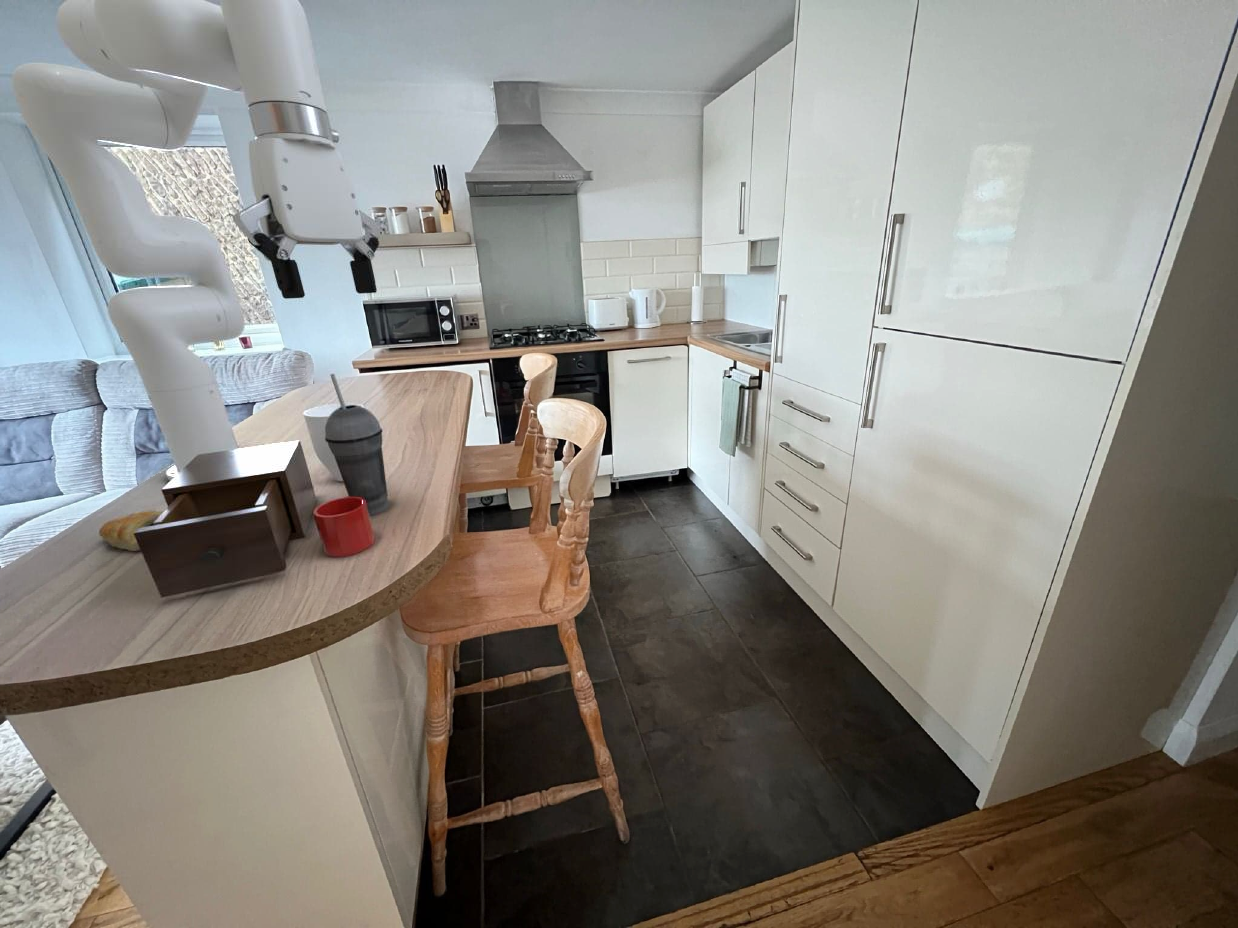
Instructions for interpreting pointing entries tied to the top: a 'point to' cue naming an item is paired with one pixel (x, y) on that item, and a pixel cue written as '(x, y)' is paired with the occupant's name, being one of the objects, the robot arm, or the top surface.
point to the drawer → (218, 536)
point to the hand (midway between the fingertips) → (332, 295)
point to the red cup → (344, 526)
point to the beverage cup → (358, 452)
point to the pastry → (127, 529)
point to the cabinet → (253, 476)
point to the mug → (323, 435)
